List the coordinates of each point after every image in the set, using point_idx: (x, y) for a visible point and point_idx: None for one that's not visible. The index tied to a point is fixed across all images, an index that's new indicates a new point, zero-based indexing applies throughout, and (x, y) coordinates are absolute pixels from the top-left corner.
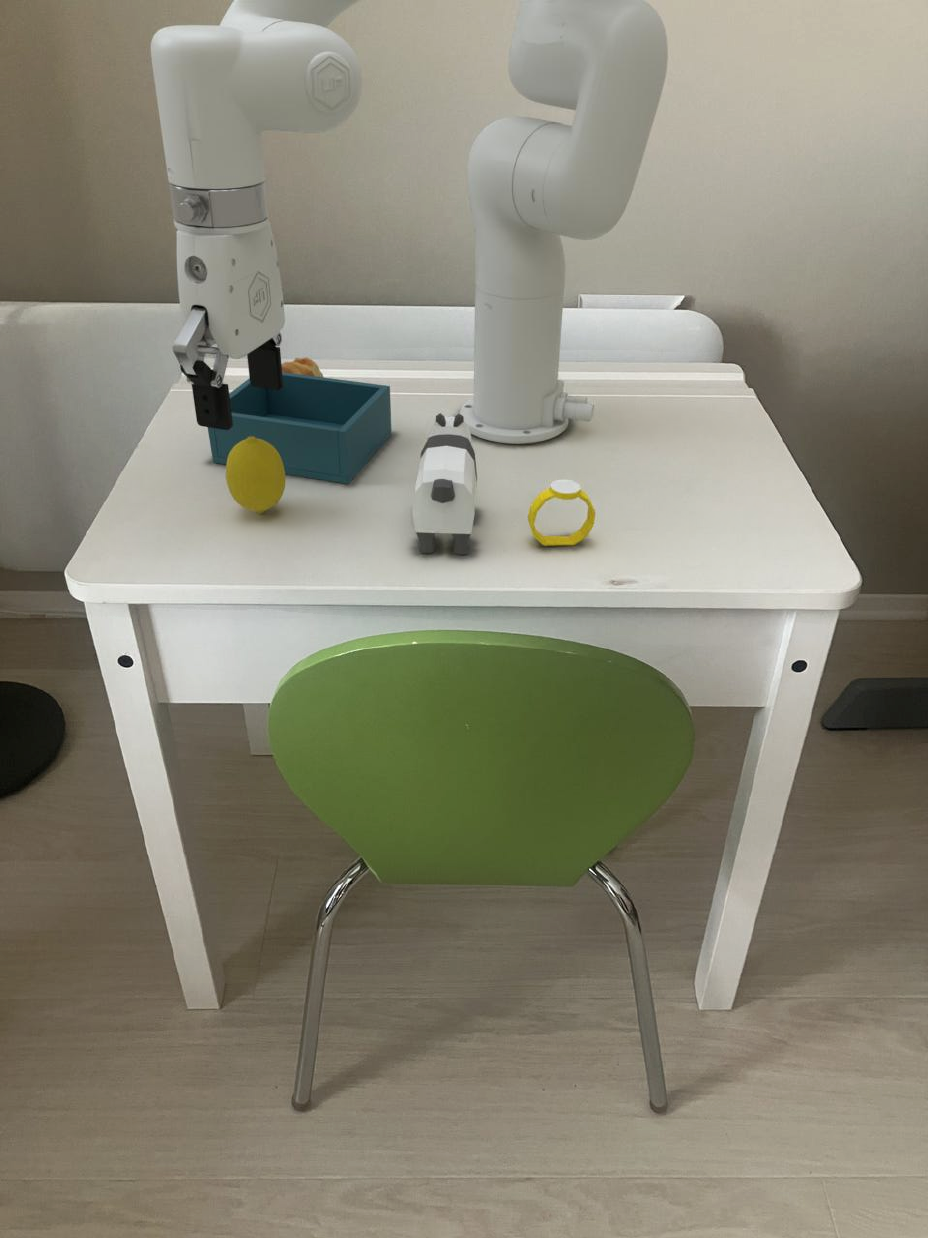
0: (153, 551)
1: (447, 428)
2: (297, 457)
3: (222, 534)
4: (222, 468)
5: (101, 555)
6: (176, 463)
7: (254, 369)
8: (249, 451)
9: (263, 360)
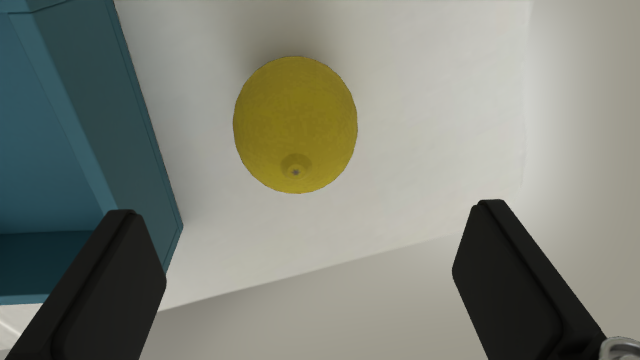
0: (442, 173)
1: None
2: (125, 104)
3: (379, 113)
4: (190, 208)
5: (458, 218)
6: (212, 260)
7: (143, 319)
8: (330, 150)
9: (113, 333)
